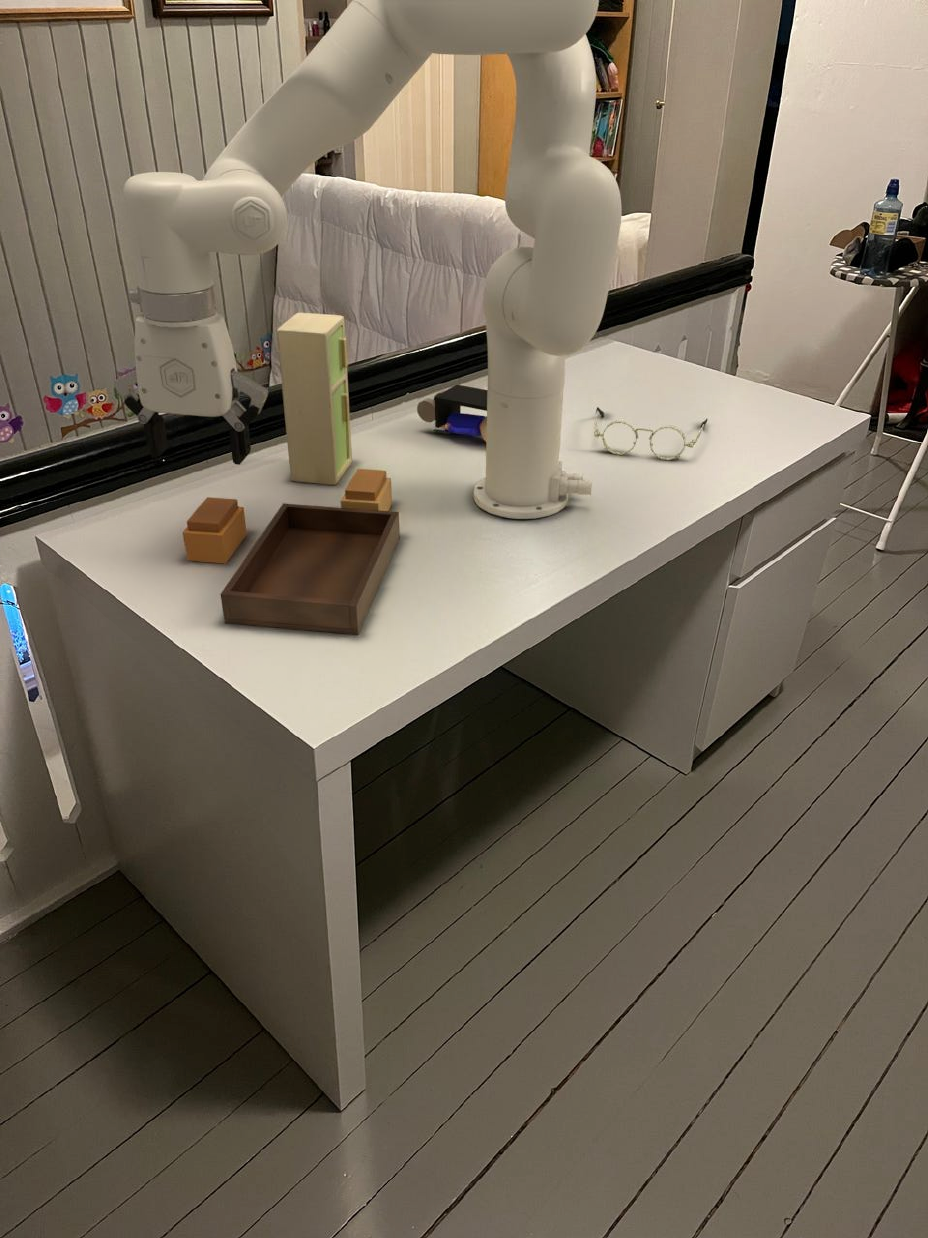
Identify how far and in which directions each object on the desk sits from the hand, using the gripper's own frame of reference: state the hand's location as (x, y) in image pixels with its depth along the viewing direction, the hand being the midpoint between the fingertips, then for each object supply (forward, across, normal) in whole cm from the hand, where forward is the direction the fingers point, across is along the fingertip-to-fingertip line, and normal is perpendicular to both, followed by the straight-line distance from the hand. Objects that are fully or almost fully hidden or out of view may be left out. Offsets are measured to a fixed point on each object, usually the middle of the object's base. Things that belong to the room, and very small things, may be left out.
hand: (200, 456), depth 108 cm
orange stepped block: (+12, +1, 0) cm, 12 cm away
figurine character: (+11, +26, +39) cm, 48 cm away
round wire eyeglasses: (+11, +52, +43) cm, 69 cm away
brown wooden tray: (+12, +15, -5) cm, 19 cm away
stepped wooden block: (+12, +17, +11) cm, 23 cm away
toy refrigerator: (+12, +8, +23) cm, 27 cm away
